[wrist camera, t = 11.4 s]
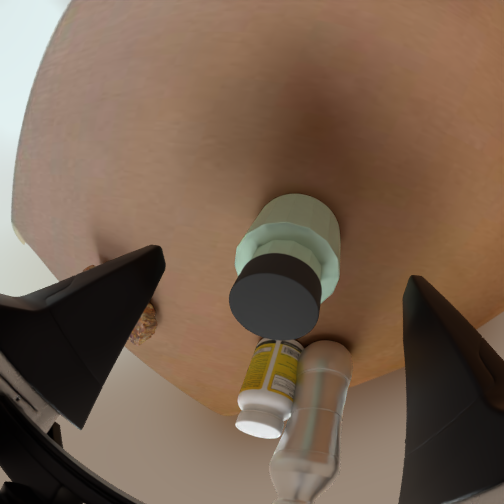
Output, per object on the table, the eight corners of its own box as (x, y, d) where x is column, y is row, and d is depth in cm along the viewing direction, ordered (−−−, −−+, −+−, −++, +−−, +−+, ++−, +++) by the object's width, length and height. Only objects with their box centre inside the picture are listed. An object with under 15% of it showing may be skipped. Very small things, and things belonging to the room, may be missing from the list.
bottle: (354, 250, 22) (356, 311, 16) (285, 279, 26) (265, 339, 19) (311, 177, 20) (299, 216, 14) (240, 218, 24) (203, 266, 17)
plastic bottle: (301, 366, 32) (258, 515, 16) (297, 330, 29) (244, 511, 12) (351, 368, 30) (326, 523, 13) (356, 332, 26) (331, 523, 10)
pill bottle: (259, 361, 34) (233, 434, 25) (254, 330, 31) (221, 412, 22) (306, 367, 32) (288, 444, 23) (308, 336, 29) (287, 425, 20)
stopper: (338, 276, 18) (334, 327, 14) (278, 299, 21) (261, 347, 17) (300, 215, 17) (286, 257, 13) (239, 248, 20) (211, 291, 16)
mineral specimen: (90, 296, 36) (64, 307, 29) (108, 255, 35) (82, 260, 29) (150, 343, 36) (132, 362, 30) (173, 303, 36) (157, 318, 29)
